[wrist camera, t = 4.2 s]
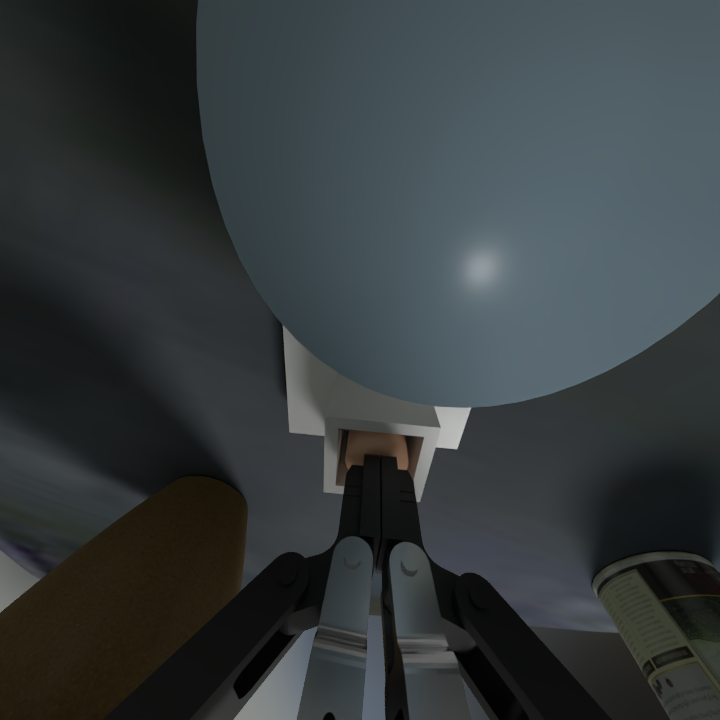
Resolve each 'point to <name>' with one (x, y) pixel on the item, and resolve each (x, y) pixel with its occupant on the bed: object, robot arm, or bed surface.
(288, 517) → the bed surface
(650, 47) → the blue-grey elongated rounded piece
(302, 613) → the robot arm
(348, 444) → the plunger
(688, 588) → the coffee can
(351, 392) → the housing
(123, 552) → the plant pot
